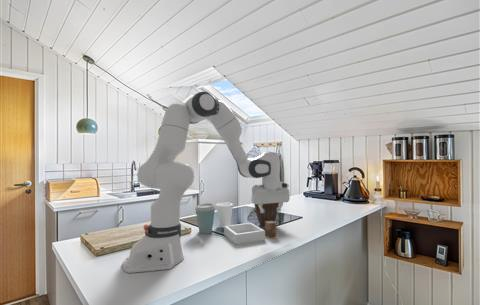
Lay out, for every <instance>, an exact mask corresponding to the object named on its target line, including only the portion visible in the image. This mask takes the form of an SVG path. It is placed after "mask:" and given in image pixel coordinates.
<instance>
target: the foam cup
mask: <svg viewBox="0 0 480 305" xmlns="http://www.w3.org/2000/svg"><path fill="white" fill-rule="evenodd" d="M233 209H234V208H233V203H231V202H219V203H216V204H215V210H216V214H217V222H218V228H219V229H221V228H223V229H224V226H229V225H231V223H232V215H233Z"/></svg>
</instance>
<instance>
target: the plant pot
mask: <svg viewBox="0 0 480 305" xmlns="http://www.w3.org/2000/svg"><path fill="white" fill-rule="evenodd" d="M278 206H279V204H278V203H268V204H263V206H262V208H263V209H264V213H260V208H259V206H258V204H254V208H255V214H256V217H257V220H258V223H259V225H260V226H261V227H264V228H265V221H274V222H276V218H277V215H278V211H277V208H278Z"/></svg>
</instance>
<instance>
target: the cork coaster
mask: <svg viewBox="0 0 480 305" xmlns="http://www.w3.org/2000/svg"><path fill="white" fill-rule="evenodd" d="M265 239H267V240H269V239H271V240H273V239H274V240H275V239H279V235H278V234H276V237H271V238H269V237H267V236H265Z"/></svg>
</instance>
